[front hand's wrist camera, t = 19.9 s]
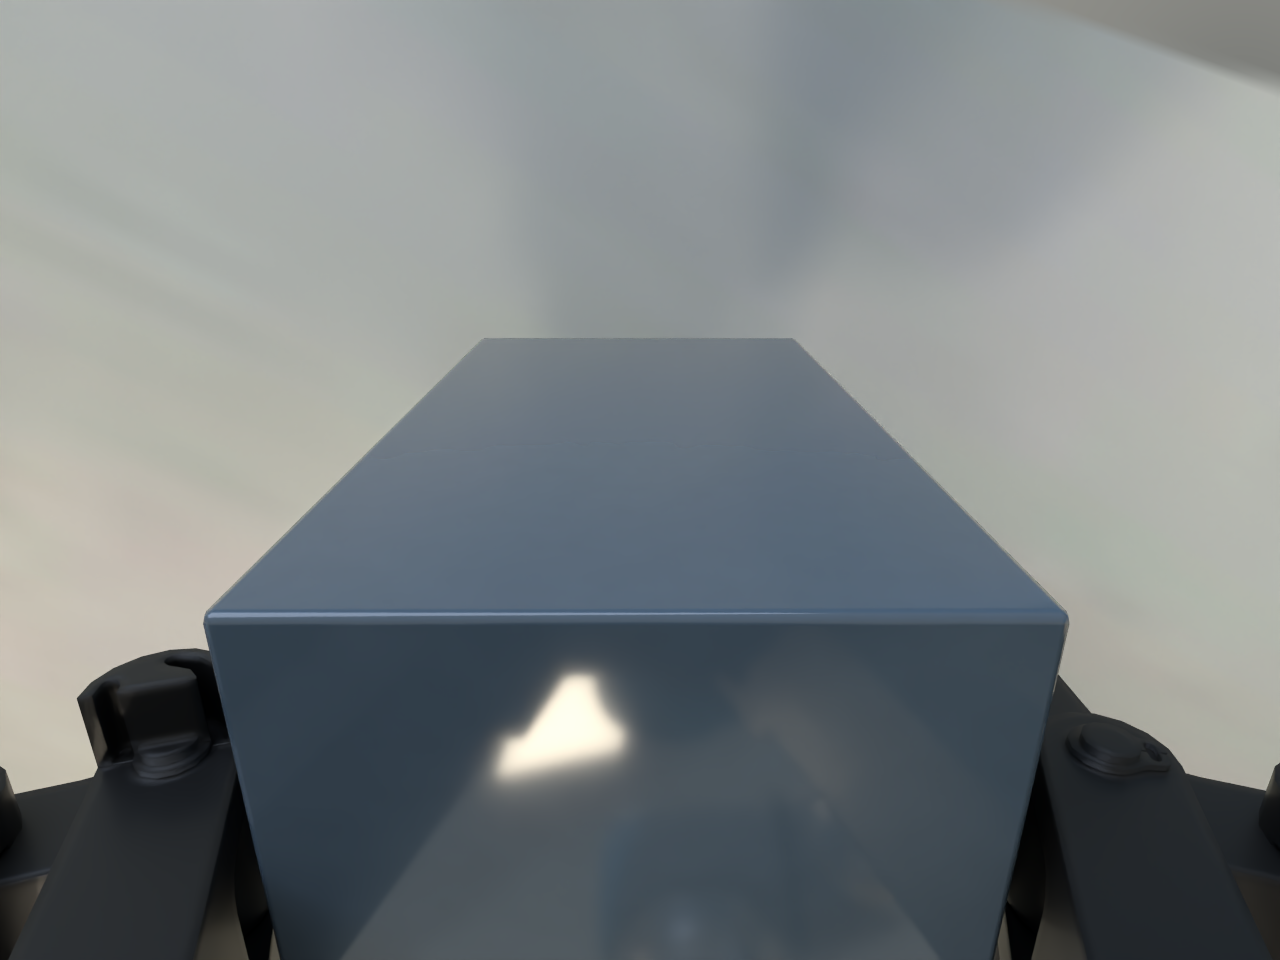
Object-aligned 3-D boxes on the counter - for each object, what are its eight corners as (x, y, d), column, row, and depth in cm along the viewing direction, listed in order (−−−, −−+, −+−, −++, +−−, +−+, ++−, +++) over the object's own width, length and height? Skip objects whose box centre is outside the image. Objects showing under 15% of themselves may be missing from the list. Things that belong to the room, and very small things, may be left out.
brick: (795, 337, 15) (1078, 615, 5) (775, 628, 17) (946, 1189, 8) (481, 337, 15) (195, 614, 5) (502, 628, 17) (328, 1191, 8)
